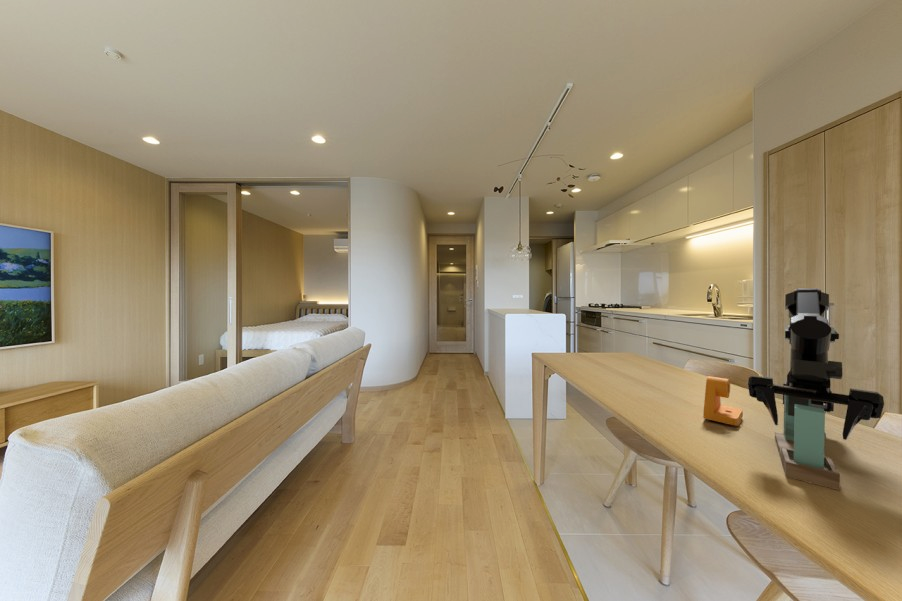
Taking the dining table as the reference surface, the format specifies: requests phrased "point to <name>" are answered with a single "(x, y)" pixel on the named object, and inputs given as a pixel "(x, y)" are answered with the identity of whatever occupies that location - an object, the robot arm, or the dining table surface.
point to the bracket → (713, 405)
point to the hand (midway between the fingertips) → (808, 431)
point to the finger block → (809, 436)
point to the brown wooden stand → (786, 451)
